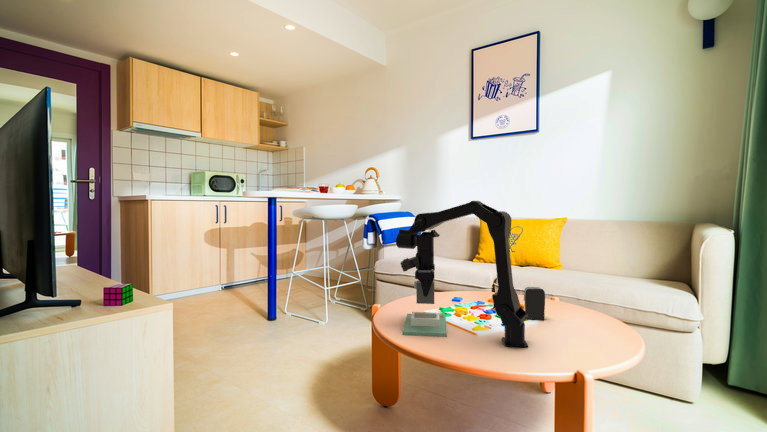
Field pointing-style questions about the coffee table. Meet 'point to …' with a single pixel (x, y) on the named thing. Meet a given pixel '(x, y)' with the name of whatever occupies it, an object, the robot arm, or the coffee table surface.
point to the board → (425, 324)
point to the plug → (420, 296)
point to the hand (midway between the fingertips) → (425, 294)
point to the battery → (534, 303)
